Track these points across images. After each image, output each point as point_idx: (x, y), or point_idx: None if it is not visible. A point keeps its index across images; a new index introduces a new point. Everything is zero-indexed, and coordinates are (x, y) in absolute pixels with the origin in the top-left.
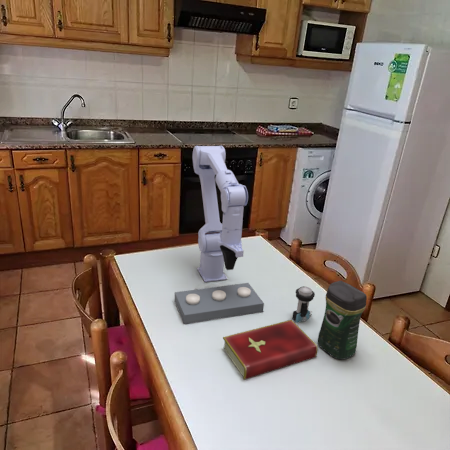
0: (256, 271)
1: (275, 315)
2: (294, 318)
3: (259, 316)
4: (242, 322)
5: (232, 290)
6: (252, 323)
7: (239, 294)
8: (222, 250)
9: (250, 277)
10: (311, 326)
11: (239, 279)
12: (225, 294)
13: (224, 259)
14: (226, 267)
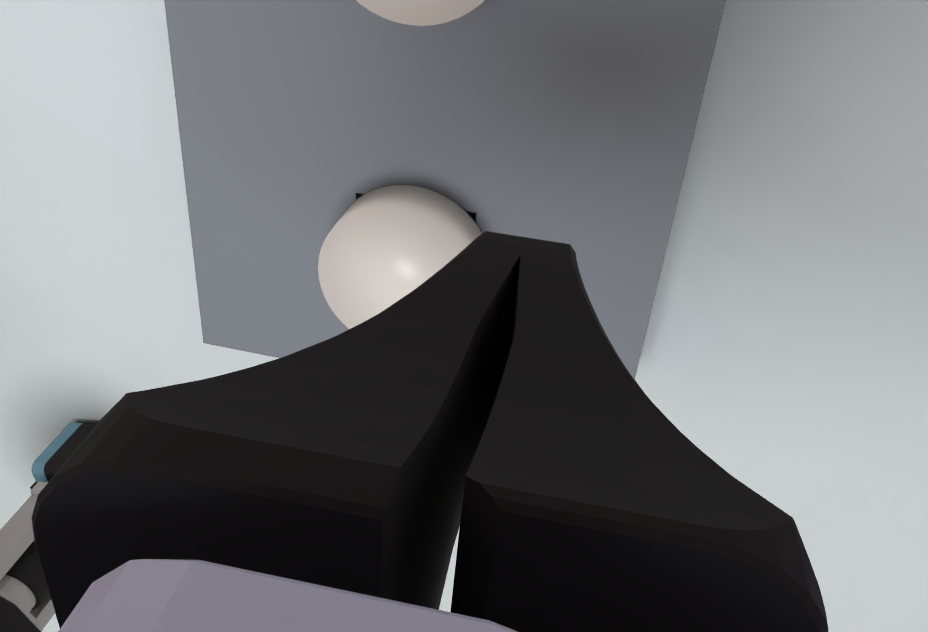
0: (922, 618)
1: (183, 348)
2: (86, 434)
3: (188, 224)
4: (115, 19)
5: (537, 178)
6: (92, 106)
7: (372, 197)
8: (388, 454)
9: (852, 517)
10: (31, 470)
11: (887, 411)
12: (373, 5)
13: (535, 327)
14: (470, 247)
